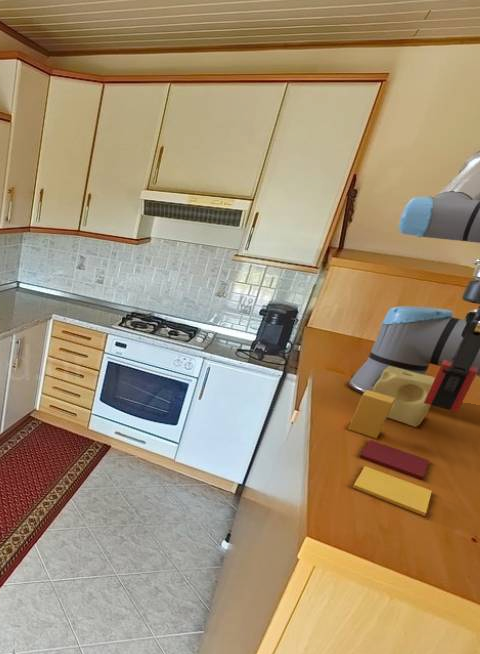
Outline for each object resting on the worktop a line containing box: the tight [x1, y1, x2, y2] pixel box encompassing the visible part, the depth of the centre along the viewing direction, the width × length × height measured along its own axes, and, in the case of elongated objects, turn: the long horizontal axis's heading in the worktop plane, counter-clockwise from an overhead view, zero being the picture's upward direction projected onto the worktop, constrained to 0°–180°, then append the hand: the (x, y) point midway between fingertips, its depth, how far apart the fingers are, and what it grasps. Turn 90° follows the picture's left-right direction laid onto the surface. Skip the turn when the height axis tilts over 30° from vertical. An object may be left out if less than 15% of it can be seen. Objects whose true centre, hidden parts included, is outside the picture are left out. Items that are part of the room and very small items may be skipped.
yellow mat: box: [352, 465, 433, 517], centre depth 79 cm, size 10×9×1 cm
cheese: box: [373, 366, 436, 428], centre depth 112 cm, size 10×11×10 cm
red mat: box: [359, 439, 430, 480], centre depth 90 cm, size 10×9×1 cm
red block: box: [424, 360, 478, 413], centre depth 92 cm, size 5×5×8 cm
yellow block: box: [347, 390, 395, 439], centre depth 101 cm, size 5×5×8 cm
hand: (441, 403), depth 93 cm, fingers closed on red block, 5 cm apart
